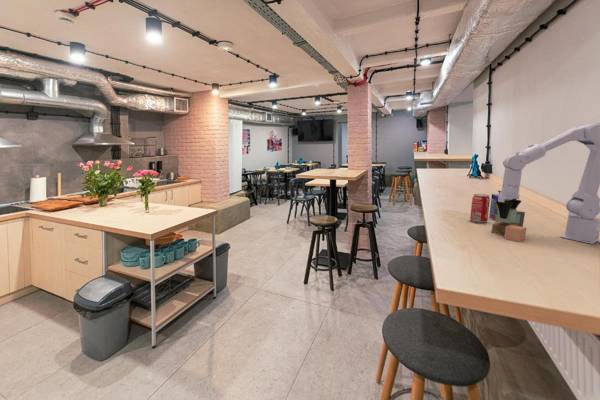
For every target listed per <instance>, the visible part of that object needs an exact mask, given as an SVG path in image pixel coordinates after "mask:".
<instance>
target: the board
mask: <svg viewBox="0 0 600 400" xmlns="http://www.w3.org/2000/svg"><path fill="white" fill-rule="evenodd" d="M525 214H526V211H519V210H517V213H516V220H515V222H511V223H512V224H517V225H518V226H521V227H524V221H525V216H526V215H525ZM501 222H502V221H501ZM506 223H507V222H506Z"/></svg>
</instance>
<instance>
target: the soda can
mask: <svg viewBox="0 0 600 400" xmlns="http://www.w3.org/2000/svg"><path fill="white" fill-rule="evenodd" d="M471 200H472V201H471V208H470V221H471V222H473V223H478V224H484V223H487V222H488V217H489V213H490V205H491V198H490V195H489V194H485V193H474V194H473V196H472V199H471Z"/></svg>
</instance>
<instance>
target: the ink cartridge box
mask: <svg viewBox="0 0 600 400" xmlns="http://www.w3.org/2000/svg"><path fill="white" fill-rule="evenodd" d="M497 192H498V193H492V194H491V196H490V197H491V198H490V205H489V213H488V217H489V218H490V219H491V220H494V221H496V222H497V220H496V218H497V211H498V206H497V204H496V200H498V197H500V196H498V194H501V192H502V190H497Z"/></svg>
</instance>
